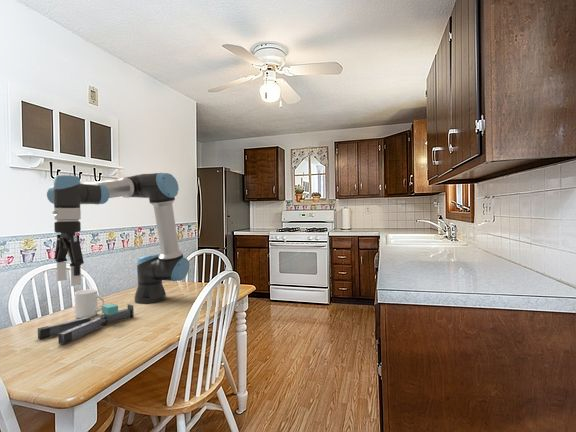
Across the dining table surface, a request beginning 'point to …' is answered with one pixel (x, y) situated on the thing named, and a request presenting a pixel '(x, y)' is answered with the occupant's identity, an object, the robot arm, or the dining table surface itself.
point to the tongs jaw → (79, 331)
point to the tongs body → (106, 319)
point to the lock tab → (109, 309)
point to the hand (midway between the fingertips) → (68, 282)
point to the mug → (87, 303)
